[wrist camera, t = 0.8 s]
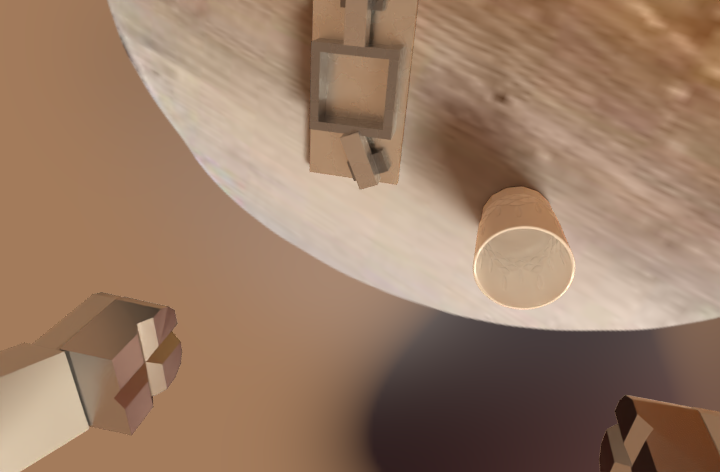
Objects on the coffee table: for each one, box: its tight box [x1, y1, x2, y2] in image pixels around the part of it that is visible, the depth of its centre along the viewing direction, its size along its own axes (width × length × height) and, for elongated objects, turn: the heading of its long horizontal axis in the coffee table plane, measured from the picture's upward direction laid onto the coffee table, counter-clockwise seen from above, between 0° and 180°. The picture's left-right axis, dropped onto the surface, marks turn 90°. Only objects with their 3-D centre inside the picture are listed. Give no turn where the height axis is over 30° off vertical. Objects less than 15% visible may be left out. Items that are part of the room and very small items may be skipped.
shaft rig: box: [310, 0, 419, 189], centre depth 44 cm, size 18×9×4 cm, turn 176°
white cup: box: [473, 186, 575, 309], centre depth 44 cm, size 8×8×10 cm
